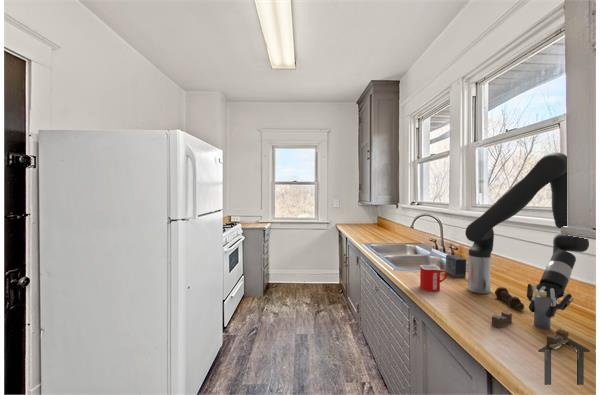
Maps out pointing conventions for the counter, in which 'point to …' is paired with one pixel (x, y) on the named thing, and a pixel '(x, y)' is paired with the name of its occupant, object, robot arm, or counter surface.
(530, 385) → the counter surface
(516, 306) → the dark brown lumpy bar
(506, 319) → the notched blocks
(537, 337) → the counter surface
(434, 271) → the mug
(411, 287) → the counter surface
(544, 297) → the grey cylindrical bottle
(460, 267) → the small box
